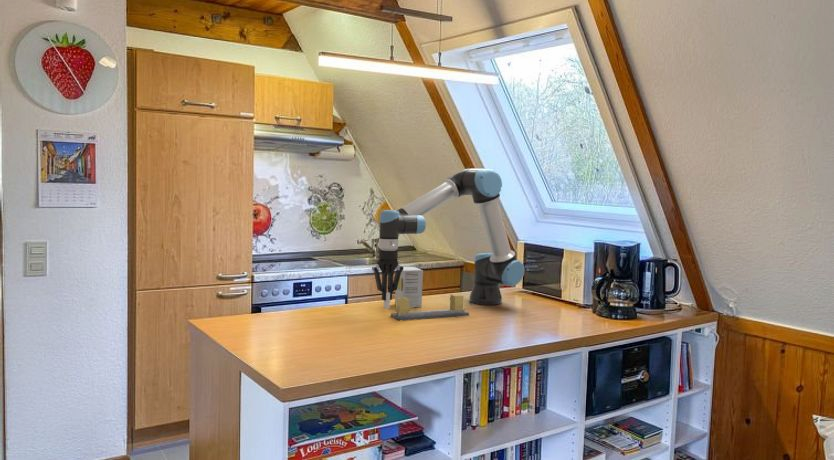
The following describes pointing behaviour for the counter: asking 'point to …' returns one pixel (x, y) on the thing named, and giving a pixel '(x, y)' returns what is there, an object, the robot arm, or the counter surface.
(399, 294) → the supplement box
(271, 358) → the counter surface
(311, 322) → the counter surface
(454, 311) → the board
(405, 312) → the block
